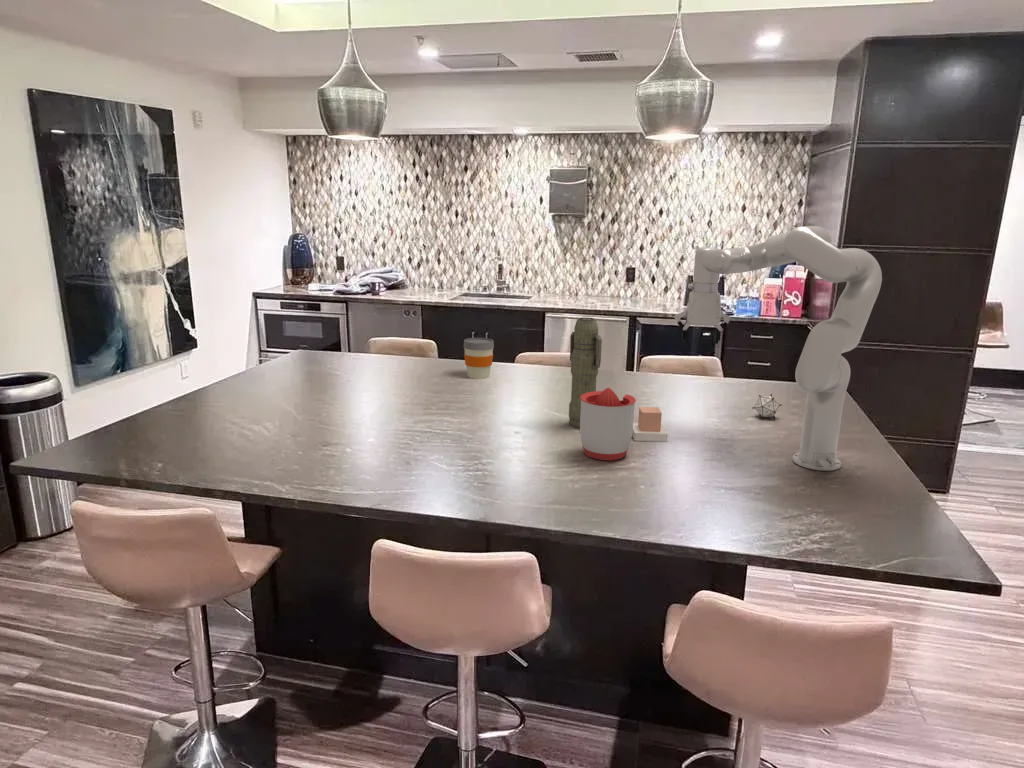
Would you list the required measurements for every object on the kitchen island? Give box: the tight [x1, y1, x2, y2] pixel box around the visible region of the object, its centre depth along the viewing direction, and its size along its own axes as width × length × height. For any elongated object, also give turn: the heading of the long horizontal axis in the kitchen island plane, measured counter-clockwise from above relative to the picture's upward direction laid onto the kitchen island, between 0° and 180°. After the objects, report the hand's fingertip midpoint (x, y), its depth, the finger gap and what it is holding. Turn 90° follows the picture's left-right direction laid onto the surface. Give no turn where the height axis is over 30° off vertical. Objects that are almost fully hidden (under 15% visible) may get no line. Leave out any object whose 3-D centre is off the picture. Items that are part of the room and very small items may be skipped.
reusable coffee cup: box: [463, 337, 495, 380], centre depth 292 cm, size 12×13×15 cm
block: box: [632, 422, 669, 443], centre depth 222 cm, size 10×10×2 cm
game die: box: [751, 393, 782, 420], centre depth 242 cm, size 9×8×10 cm
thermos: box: [568, 317, 603, 430], centre depth 228 cm, size 9×12×35 cm
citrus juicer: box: [579, 387, 637, 462], centre depth 203 cm, size 16×17×20 cm
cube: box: [637, 406, 662, 432], centre depth 220 cm, size 6×6×6 cm
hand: (700, 342), depth 223 cm, fingers open, 9 cm apart
